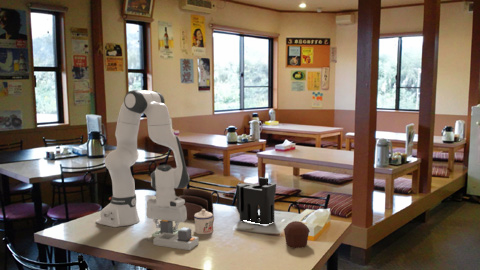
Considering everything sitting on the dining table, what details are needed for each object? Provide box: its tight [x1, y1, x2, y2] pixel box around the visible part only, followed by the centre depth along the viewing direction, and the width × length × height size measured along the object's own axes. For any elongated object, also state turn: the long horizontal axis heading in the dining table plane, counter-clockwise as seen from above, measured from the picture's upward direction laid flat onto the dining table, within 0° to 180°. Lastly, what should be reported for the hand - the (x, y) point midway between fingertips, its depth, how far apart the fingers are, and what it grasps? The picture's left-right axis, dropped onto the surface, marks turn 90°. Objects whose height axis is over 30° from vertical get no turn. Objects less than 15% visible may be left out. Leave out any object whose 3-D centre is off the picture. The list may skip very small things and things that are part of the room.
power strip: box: [146, 232, 200, 251], centre depth 192 cm, size 24×8×5 cm, turn 68°
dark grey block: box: [178, 226, 192, 242], centre depth 189 cm, size 4×4×8 cm
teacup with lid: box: [194, 209, 215, 235], centre depth 209 cm, size 12×9×12 cm
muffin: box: [283, 220, 311, 249], centre depth 191 cm, size 12×11×10 cm
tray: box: [151, 228, 180, 238], centre depth 205 cm, size 10×10×2 cm
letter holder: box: [178, 188, 214, 221], centre depth 234 cm, size 10×20×14 cm, turn 58°
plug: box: [159, 220, 174, 234], centre depth 204 cm, size 4×4×8 cm
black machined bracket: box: [235, 176, 277, 224], centre depth 223 cm, size 12×21×22 cm, turn 54°
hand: (166, 228), depth 205 cm, fingers open, 8 cm apart
